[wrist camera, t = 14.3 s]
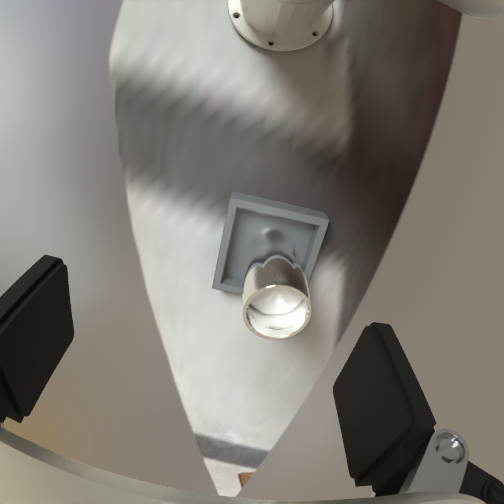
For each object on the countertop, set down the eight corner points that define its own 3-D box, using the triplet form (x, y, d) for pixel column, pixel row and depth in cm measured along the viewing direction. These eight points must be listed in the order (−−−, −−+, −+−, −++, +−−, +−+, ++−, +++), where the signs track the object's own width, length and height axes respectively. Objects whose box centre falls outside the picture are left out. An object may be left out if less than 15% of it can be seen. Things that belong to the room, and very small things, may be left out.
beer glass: (270, 279, 46) (275, 352, 33) (234, 247, 44) (225, 314, 31) (307, 247, 44) (328, 313, 31) (271, 212, 42) (279, 269, 29)
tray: (231, 191, 41) (230, 197, 39) (324, 212, 43) (329, 220, 40) (214, 277, 47) (211, 288, 44) (297, 293, 48) (300, 305, 45)
